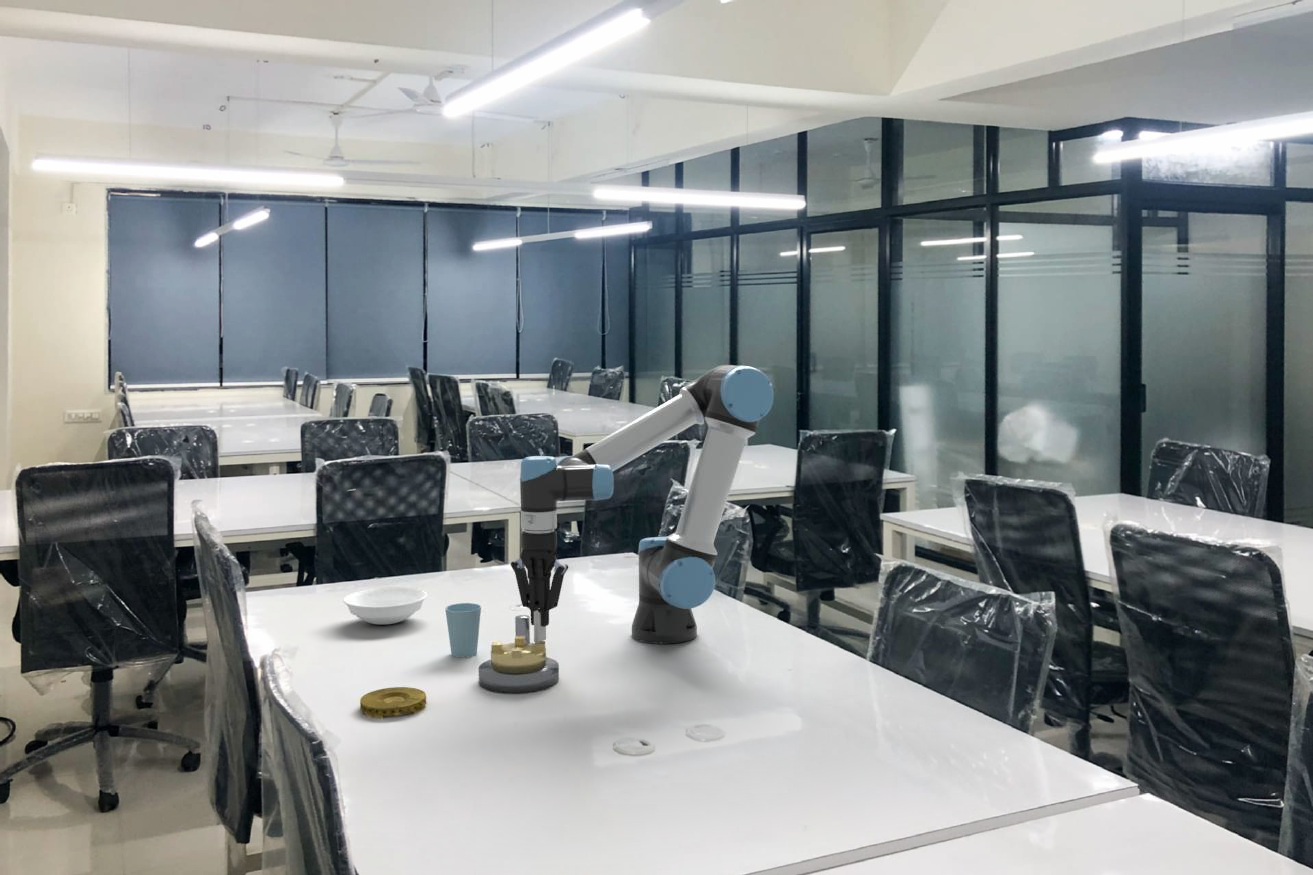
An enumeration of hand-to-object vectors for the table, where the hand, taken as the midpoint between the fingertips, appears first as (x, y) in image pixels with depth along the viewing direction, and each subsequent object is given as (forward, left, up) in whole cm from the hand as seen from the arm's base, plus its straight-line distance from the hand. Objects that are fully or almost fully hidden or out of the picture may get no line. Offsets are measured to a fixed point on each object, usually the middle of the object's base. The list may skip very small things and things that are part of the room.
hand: (540, 640), depth 228 cm
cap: (+6, +10, -5) cm, 13 cm away
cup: (+15, -12, -5) cm, 20 cm away
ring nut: (+5, +6, -4) cm, 9 cm away
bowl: (+31, -44, -5) cm, 54 cm away
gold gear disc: (+31, +19, -6) cm, 36 cm away
